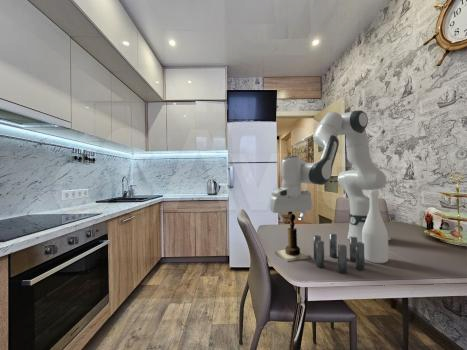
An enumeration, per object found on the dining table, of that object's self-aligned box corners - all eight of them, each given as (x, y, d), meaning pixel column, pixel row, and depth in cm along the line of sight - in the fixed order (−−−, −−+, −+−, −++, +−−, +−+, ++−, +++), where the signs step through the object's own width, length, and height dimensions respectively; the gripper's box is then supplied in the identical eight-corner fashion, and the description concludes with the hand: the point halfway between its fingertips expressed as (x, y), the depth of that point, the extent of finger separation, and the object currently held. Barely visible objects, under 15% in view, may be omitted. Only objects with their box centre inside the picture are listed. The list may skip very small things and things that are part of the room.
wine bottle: (358, 256, 106) (357, 189, 106) (379, 255, 106) (378, 189, 106) (369, 264, 97) (368, 190, 97) (393, 263, 96) (392, 190, 96)
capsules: (341, 254, 109) (340, 232, 109) (374, 268, 92) (374, 242, 92) (304, 259, 103) (303, 236, 103) (333, 275, 86) (332, 248, 86)
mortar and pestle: (283, 251, 111) (282, 212, 111) (296, 250, 112) (295, 212, 112) (288, 255, 104) (287, 215, 104) (302, 255, 105) (301, 214, 105)
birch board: (297, 250, 115) (296, 248, 115) (311, 258, 105) (310, 255, 105) (275, 253, 111) (274, 251, 111) (287, 261, 101) (287, 258, 101)
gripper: (306, 189, 114) (307, 218, 114) (268, 191, 108) (268, 221, 108) (314, 190, 108) (315, 220, 108) (274, 192, 102) (275, 224, 102)
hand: (291, 221), depth 108 cm, fingers open, 8 cm apart
